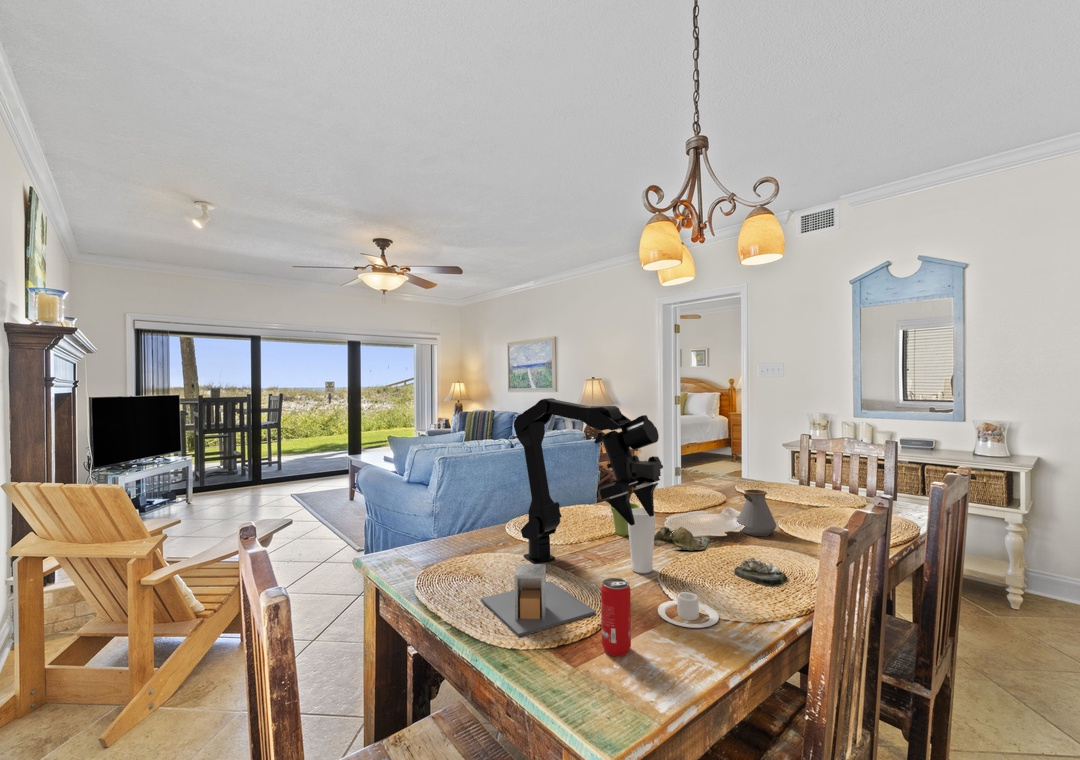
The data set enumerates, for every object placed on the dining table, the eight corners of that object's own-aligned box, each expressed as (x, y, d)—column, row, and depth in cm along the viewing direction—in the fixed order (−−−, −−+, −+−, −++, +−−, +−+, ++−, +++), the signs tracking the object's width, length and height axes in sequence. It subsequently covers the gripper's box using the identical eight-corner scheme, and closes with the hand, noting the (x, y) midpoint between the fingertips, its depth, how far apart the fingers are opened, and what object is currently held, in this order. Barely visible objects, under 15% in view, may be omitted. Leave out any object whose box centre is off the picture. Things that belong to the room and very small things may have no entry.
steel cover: (517, 606, 105) (517, 564, 105) (546, 606, 105) (545, 564, 105) (514, 620, 99) (514, 575, 99) (544, 620, 99) (544, 575, 99)
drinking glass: (656, 576, 122) (655, 515, 122) (628, 574, 124) (627, 514, 124) (655, 566, 129) (654, 508, 129) (628, 564, 130) (628, 507, 130)
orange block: (521, 609, 104) (521, 590, 104) (541, 609, 104) (540, 590, 104) (520, 618, 100) (520, 598, 100) (540, 618, 100) (539, 598, 100)
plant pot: (604, 534, 156) (604, 507, 156) (618, 527, 163) (617, 500, 163) (632, 540, 150) (632, 511, 150) (644, 532, 158) (644, 504, 158)
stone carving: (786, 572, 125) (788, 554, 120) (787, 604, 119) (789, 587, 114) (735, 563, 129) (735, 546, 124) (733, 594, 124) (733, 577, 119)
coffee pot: (741, 525, 164) (740, 479, 164) (779, 530, 158) (779, 483, 158) (724, 542, 147) (723, 492, 147) (766, 550, 140) (765, 496, 140)
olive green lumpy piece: (725, 552, 141) (725, 532, 141) (665, 555, 138) (665, 536, 138) (695, 533, 158) (696, 516, 158) (642, 535, 156) (642, 518, 156)
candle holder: (652, 603, 108) (652, 583, 108) (708, 603, 108) (708, 583, 108) (664, 631, 96) (664, 608, 96) (727, 631, 96) (727, 609, 96)
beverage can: (599, 643, 92) (598, 577, 92) (626, 641, 92) (626, 576, 92) (605, 658, 86) (604, 589, 86) (634, 657, 87) (633, 588, 87)
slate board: (480, 600, 110) (480, 598, 110) (550, 583, 119) (550, 581, 119) (518, 637, 94) (518, 633, 94) (595, 613, 103) (595, 611, 103)
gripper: (627, 450, 107) (653, 522, 103) (666, 441, 121) (690, 504, 118) (588, 464, 114) (610, 532, 110) (629, 454, 128) (650, 514, 124)
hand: (642, 520), depth 115 cm, fingers open, 9 cm apart
